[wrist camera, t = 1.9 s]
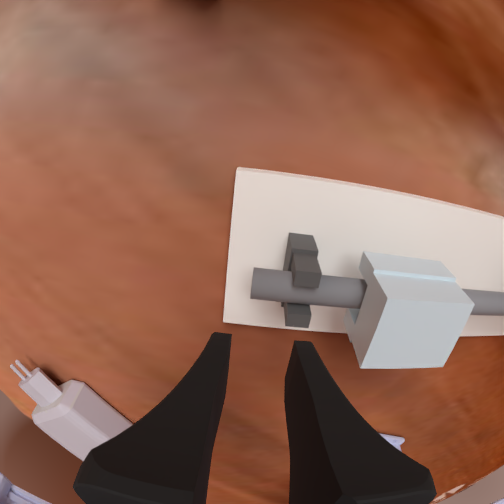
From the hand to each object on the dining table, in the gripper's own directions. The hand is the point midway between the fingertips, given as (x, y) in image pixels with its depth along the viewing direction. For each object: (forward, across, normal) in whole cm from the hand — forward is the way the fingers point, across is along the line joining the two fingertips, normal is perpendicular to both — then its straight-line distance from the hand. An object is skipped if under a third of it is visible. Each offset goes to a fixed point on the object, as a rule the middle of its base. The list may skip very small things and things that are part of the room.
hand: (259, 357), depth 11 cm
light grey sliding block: (+6, -8, 0) cm, 10 cm away
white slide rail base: (+9, -12, 0) cm, 16 cm away
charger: (+10, +18, +20) cm, 28 cm away
